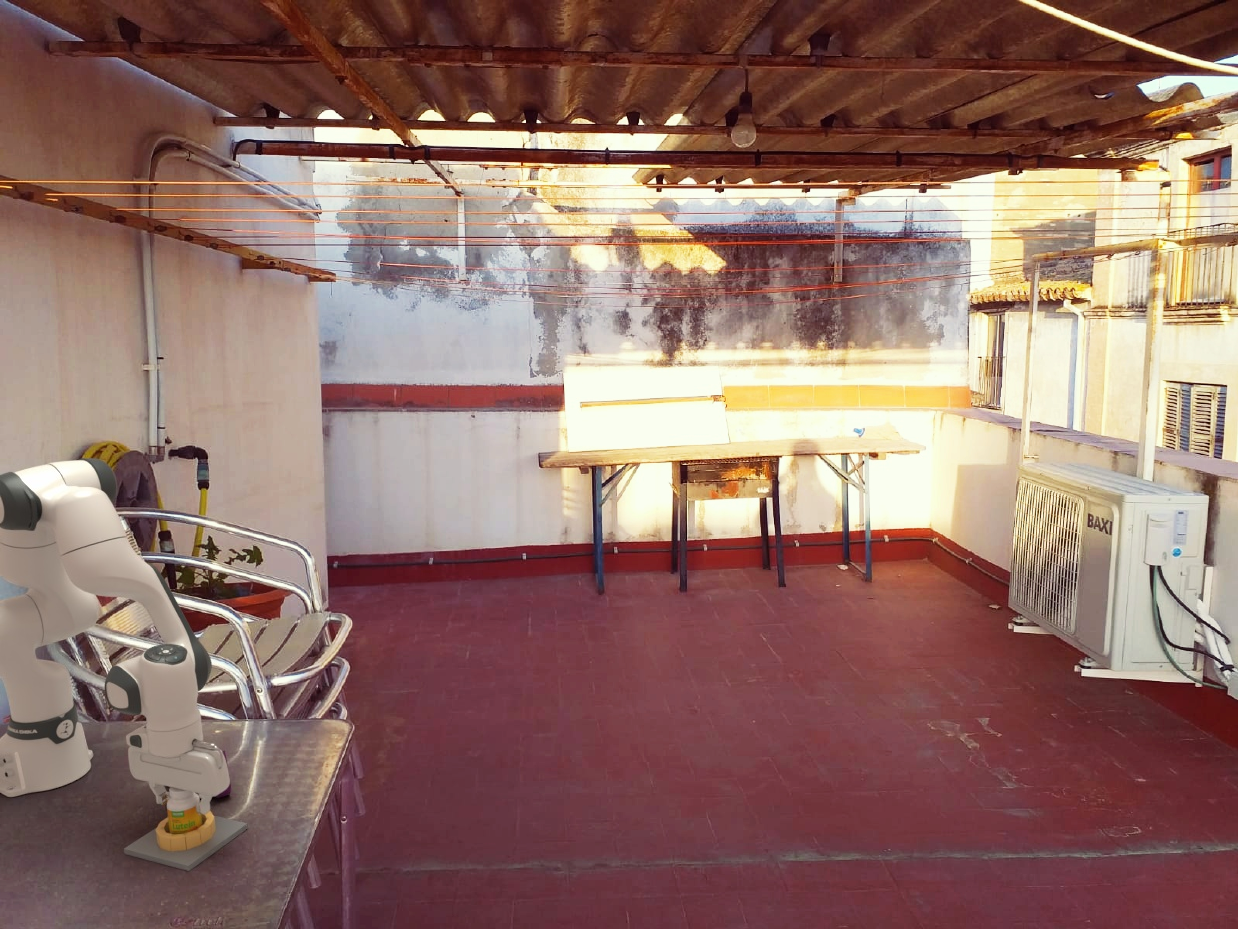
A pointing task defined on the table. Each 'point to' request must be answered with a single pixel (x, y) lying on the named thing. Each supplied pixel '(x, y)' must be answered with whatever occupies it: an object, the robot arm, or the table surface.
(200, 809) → the robot arm
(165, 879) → the table surface
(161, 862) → the plate
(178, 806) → the supplement bottle
